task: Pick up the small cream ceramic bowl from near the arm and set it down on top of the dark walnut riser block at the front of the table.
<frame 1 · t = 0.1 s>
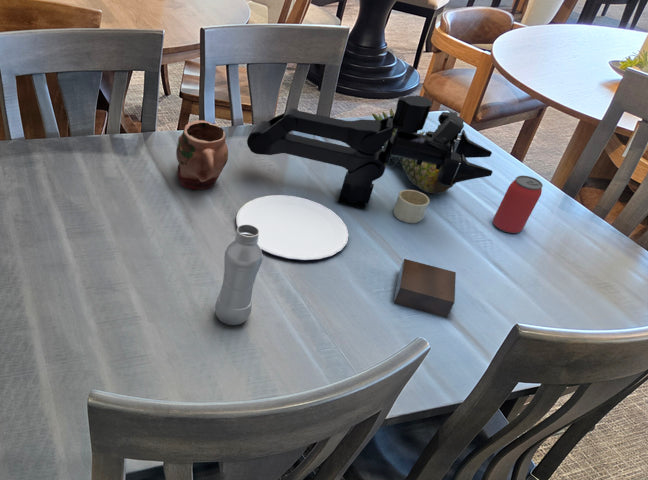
hand: (491, 163, 135), 17 cm above the table, tool horizontal, fingers open, 9 cm apart
fruit: (406, 170, 165), on the table
plate: (290, 229, 141), on the table
bowl: (407, 215, 148), on the table
riser: (421, 294, 126), on the table
beer can: (506, 227, 147), on the table
plastic bottle: (231, 318, 118), on the table
decorative planter: (198, 184, 154), on the table
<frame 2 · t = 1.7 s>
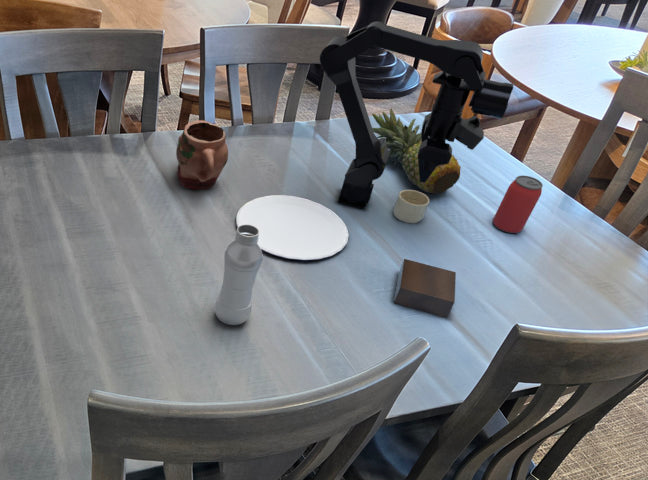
hand: (423, 172, 141), 12 cm above the table, tool pointing down, fingers open, 9 cm apart
nothing on the table moved.
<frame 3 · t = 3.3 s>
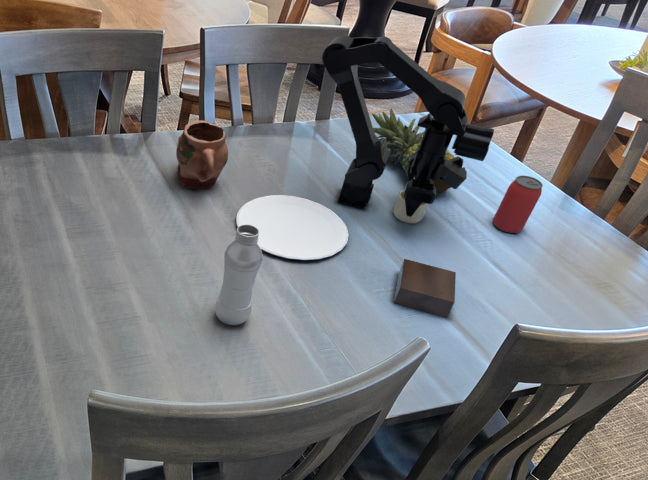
hand: (410, 208, 147), 2 cm above the table, tool pointing down, fingers closed on bowl, 7 cm apart
bowl: (407, 215, 148), on the table, touching gripper
everything else where it was.
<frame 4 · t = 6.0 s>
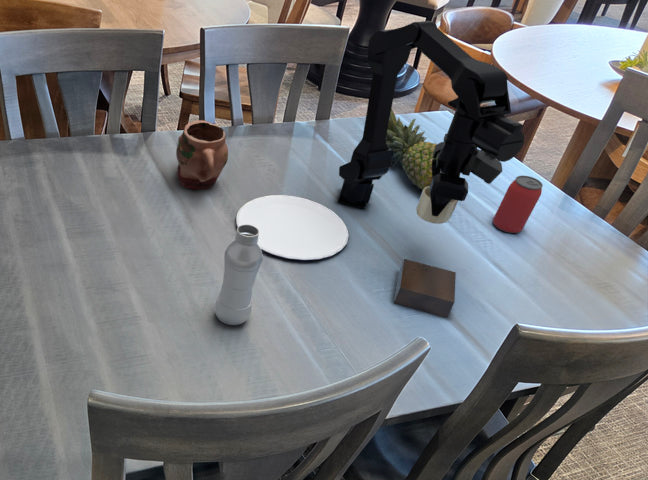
hand: (435, 207, 128), 12 cm above the table, tool pointing down, fingers closed on bowl, 7 cm apart
bowl: (432, 215, 130), point 10 cm above the table, touching gripper
everything else where it was.
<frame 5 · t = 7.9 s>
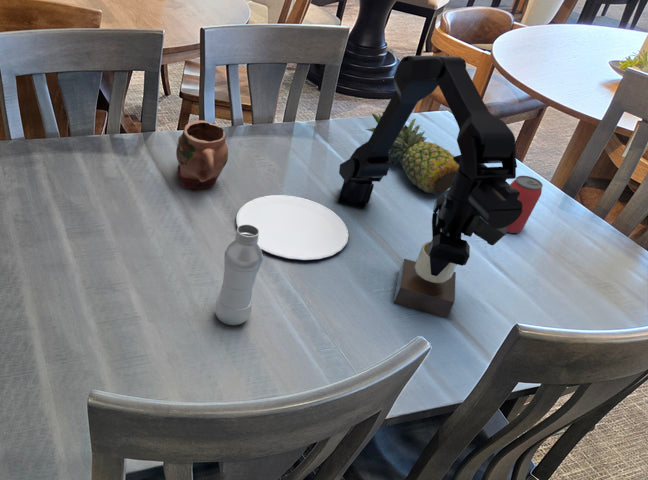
hand: (434, 264, 121), 8 cm above the table, tool pointing down, fingers closed on bowl, 7 cm apart
bowl: (431, 272, 122), point 6 cm above the table, touching gripper
everything else where it was.
when the fingers open (6 cm above the table, at t = 9.0 s): bowl stays where it is, resting on riser.
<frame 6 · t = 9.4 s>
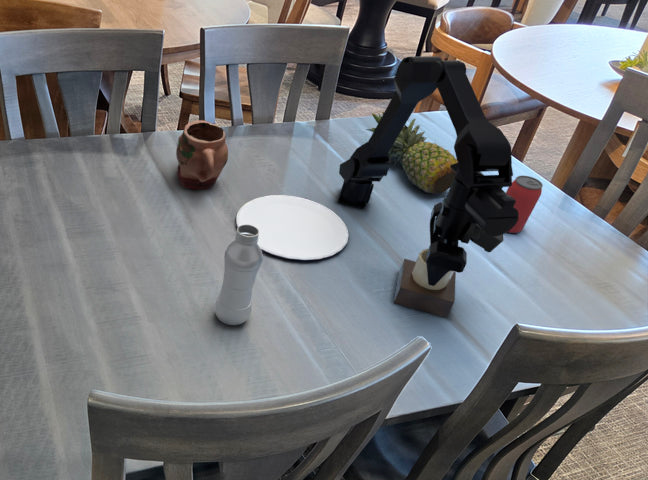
hand: (432, 271, 122), 6 cm above the table, tool pointing down, fingers open, 9 cm apart
bowl: (428, 279, 123), point 4 cm above the table, touching riser
everything else where it was.
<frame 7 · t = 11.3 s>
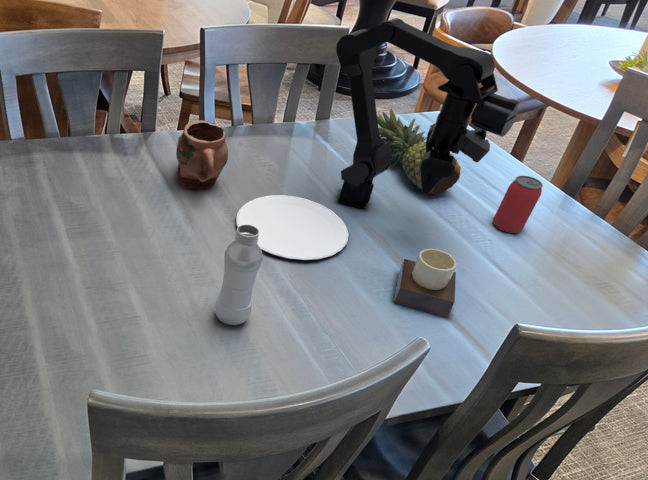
hand: (426, 183, 136), 12 cm above the table, tool pointing down, fingers open, 9 cm apart
nothing on the table moved.
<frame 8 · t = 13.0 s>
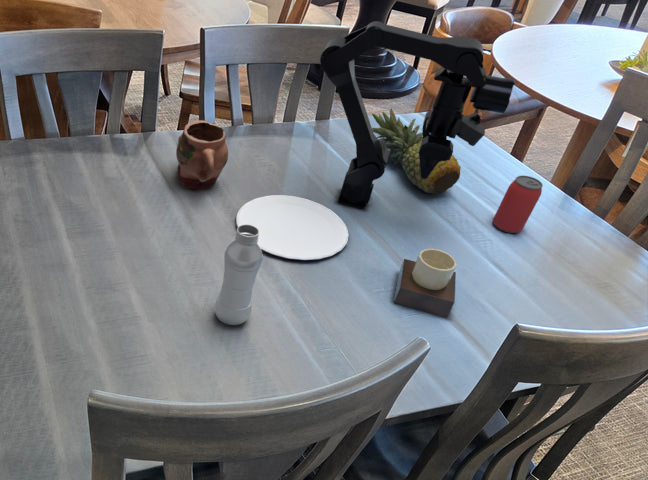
hand: (424, 168, 141), 12 cm above the table, tool pointing down, fingers open, 9 cm apart
nothing on the table moved.
at the end: bowl 0.1 cm off-centre on the riser, point 4.0 cm above the riser's base; bowl tilted 0°; the gripper is holding nothing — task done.
